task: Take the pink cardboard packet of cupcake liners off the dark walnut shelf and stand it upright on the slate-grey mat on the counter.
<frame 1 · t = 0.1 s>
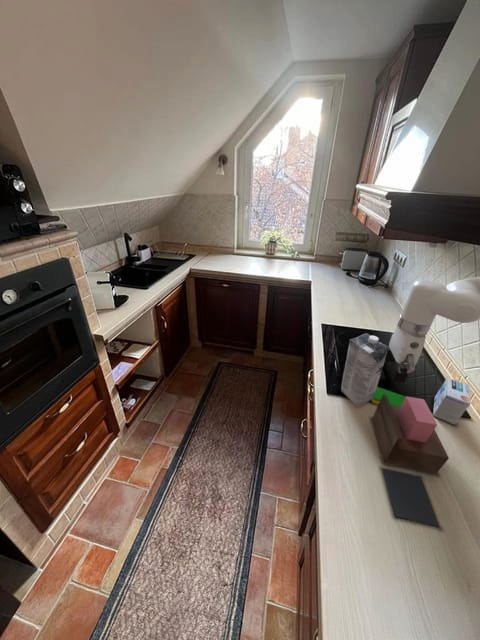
hand: (392, 370, 79), 21 cm above the worktop, tool pointing down, fingers open, 9 cm apart
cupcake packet: (410, 427, 76), point 8 cm above the worktop, touching walnut shelf
light bulb box: (444, 411, 92), on the worktop
slate mat: (408, 495, 67), on the worktop
walnut shelf: (401, 443, 80), on the worktop
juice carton: (355, 395, 97), on the worktop, touching gripper
dish sponge: (392, 403, 94), on the worktop
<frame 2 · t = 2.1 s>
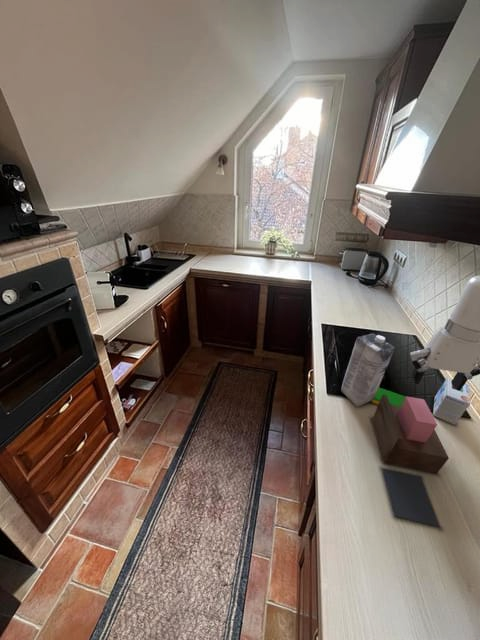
hand: (434, 383, 67), 26 cm above the worktop, tool pointing down, fingers open, 9 cm apart
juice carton: (355, 396, 97), on the worktop
everything else where it was.
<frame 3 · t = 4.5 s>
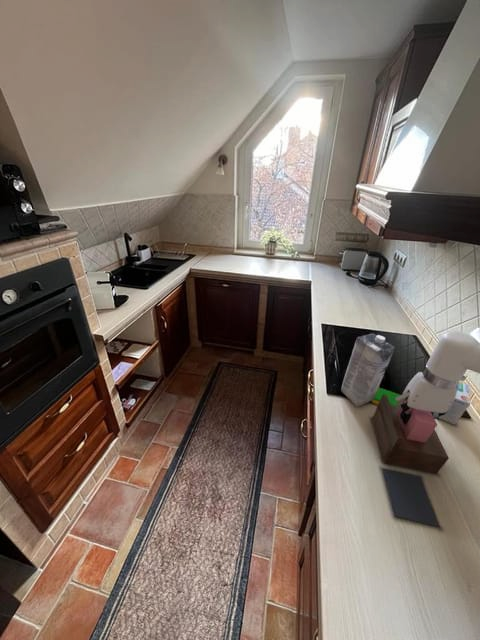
hand: (413, 421, 75), 11 cm above the worktop, tool pointing down, fingers closed on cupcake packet, 5 cm apart
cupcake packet: (410, 427, 76), point 8 cm above the worktop, touching gripper, walnut shelf
everything else where it was.
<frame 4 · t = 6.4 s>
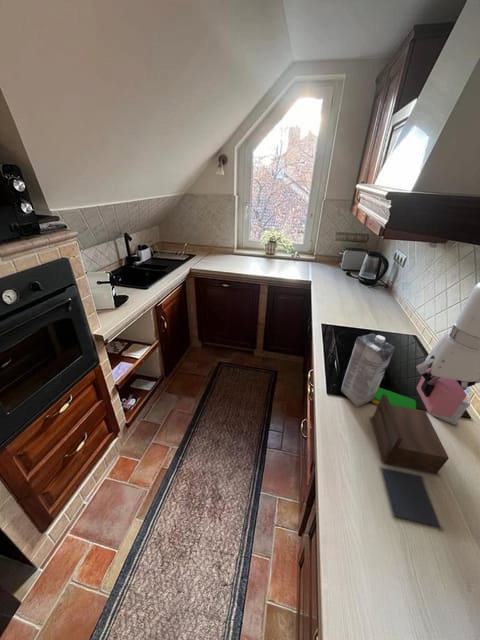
hand: (437, 394, 65), 25 cm above the worktop, tool pointing down, fingers closed on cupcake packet, 5 cm apart
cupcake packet: (432, 402, 67), point 22 cm above the worktop, touching gripper
everything else where it was.
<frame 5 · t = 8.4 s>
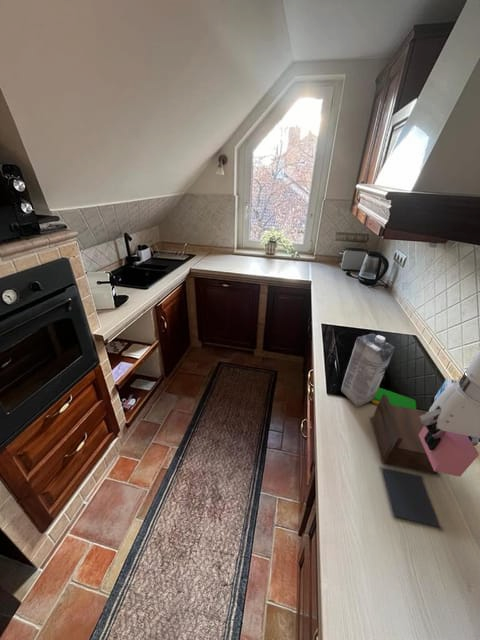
hand: (443, 446, 56), 22 cm above the worktop, tool pointing down, fingers closed on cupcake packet, 5 cm apart
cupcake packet: (437, 454, 58), point 19 cm above the worktop, touching gripper
everything else where it was.
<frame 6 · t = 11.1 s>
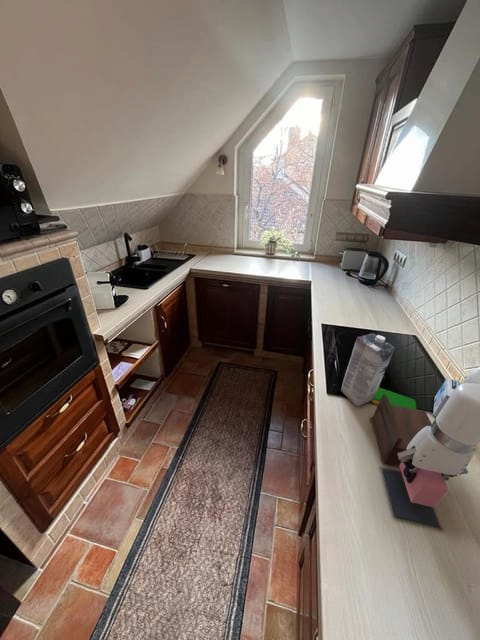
hand: (419, 479, 63), 8 cm above the worktop, tool pointing down, fingers closed on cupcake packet, 5 cm apart
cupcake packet: (415, 485, 65), point 5 cm above the worktop, touching gripper
everything else where it was.
when the fingers open (3 cm above the worktop, at t = 12.8 s): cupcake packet stays where it is, resting on slate mat.
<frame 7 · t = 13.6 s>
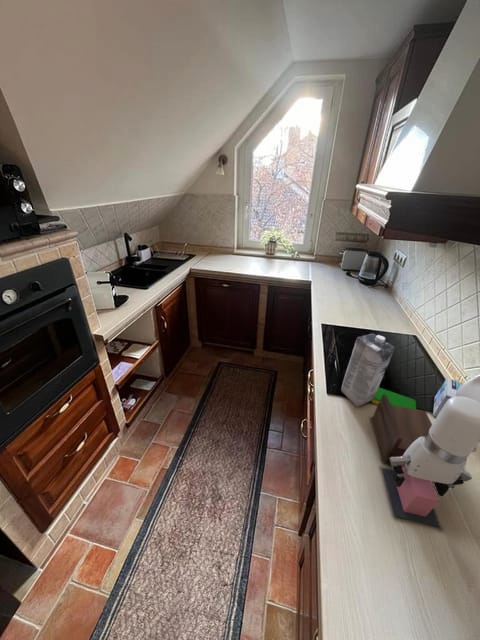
hand: (416, 485, 65), 5 cm above the worktop, tool pointing down, fingers open, 9 cm apart
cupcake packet: (408, 494, 67), resting on slate mat
everything else where it was.
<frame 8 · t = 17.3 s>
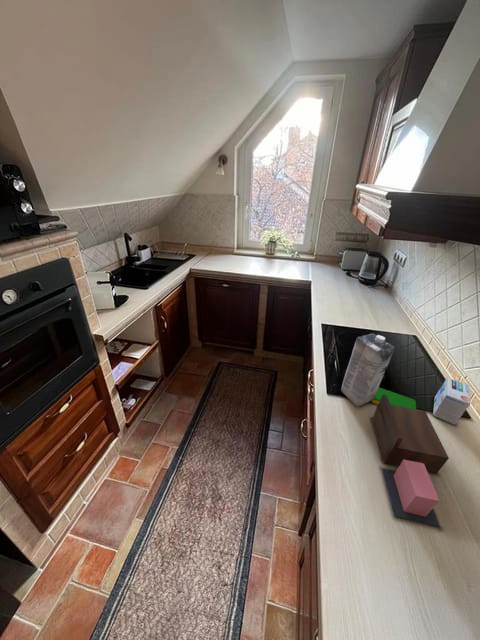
nothing on the worktop moved.
at the end: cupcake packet inside the target area on the slate mat (0.1 cm from its centre), point 0.4 cm above the slate mat's base; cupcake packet tilted 0°; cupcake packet touching slate mat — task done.
